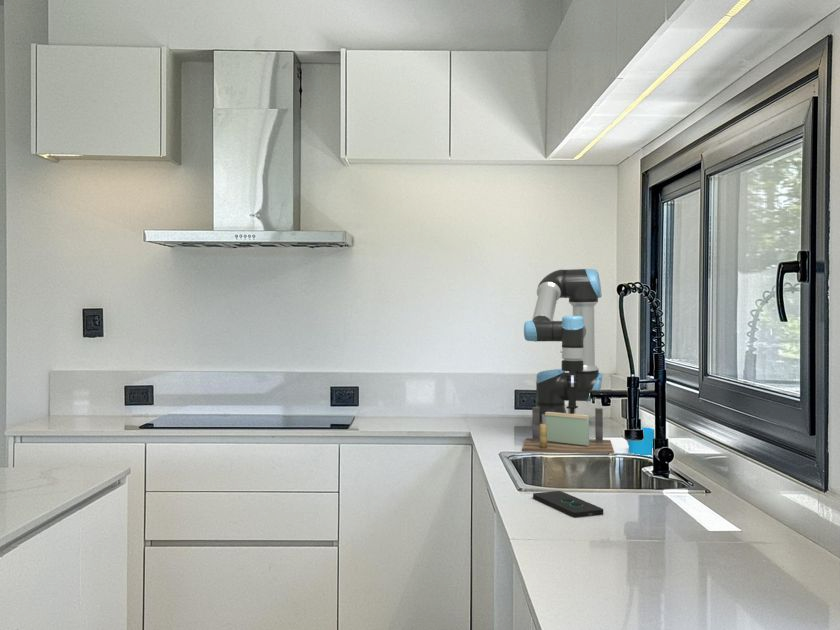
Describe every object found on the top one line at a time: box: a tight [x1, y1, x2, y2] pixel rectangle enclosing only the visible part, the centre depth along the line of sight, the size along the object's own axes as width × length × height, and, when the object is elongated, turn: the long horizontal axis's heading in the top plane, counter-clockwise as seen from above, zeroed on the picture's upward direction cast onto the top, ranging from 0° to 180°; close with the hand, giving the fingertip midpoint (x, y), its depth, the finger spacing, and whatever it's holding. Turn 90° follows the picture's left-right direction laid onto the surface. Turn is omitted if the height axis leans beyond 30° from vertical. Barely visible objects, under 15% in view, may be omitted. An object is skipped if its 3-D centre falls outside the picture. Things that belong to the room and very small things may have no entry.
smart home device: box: [532, 490, 604, 518], centre depth 180 cm, size 8×2×20 cm
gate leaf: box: [542, 412, 590, 445], centre depth 261 cm, size 2×18×10 cm, turn 51°
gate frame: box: [521, 406, 615, 454], centre depth 261 cm, size 23×30×13 cm
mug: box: [626, 426, 655, 456], centre depth 249 cm, size 12×8×8 cm
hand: (572, 426), depth 263 cm, fingers closed
